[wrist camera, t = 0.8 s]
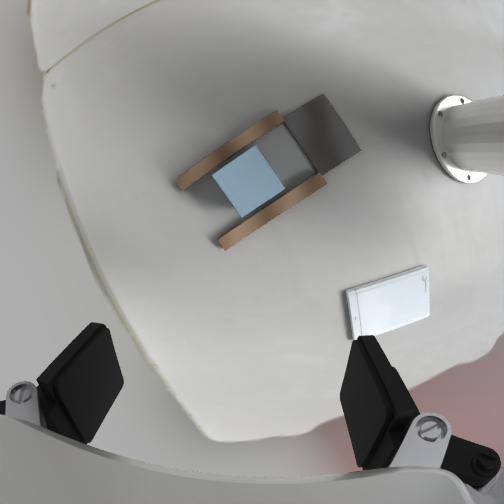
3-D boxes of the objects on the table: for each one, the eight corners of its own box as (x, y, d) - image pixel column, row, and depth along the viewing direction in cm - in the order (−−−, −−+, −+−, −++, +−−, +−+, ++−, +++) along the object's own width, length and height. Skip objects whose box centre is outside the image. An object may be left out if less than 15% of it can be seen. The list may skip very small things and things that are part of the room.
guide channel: (318, 88, 29) (320, 85, 28) (364, 157, 31) (368, 157, 30) (177, 180, 32) (174, 180, 31) (226, 248, 34) (224, 250, 33)
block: (256, 150, 31) (255, 145, 25) (281, 185, 32) (285, 188, 26) (220, 174, 32) (211, 175, 26) (245, 209, 33) (241, 217, 27)
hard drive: (428, 266, 33) (347, 293, 34) (429, 317, 35) (354, 344, 36) (423, 263, 35) (344, 288, 36) (424, 312, 37) (351, 338, 38)
